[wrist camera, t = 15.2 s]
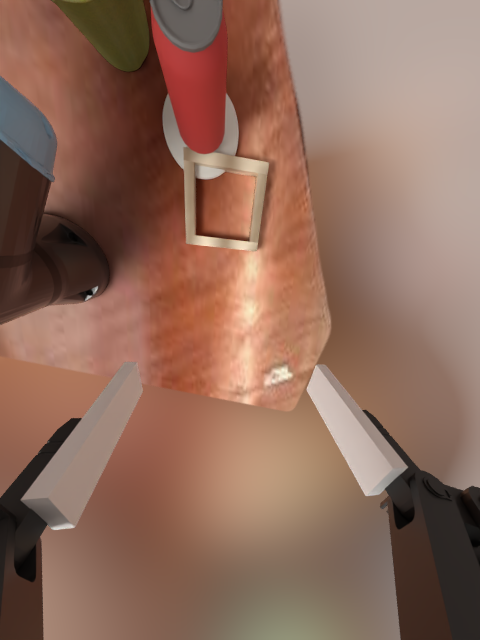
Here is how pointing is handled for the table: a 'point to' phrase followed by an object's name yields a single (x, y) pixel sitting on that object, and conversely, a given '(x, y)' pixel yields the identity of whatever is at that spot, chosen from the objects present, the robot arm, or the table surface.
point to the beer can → (194, 67)
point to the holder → (231, 166)
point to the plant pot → (112, 28)
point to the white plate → (177, 146)
